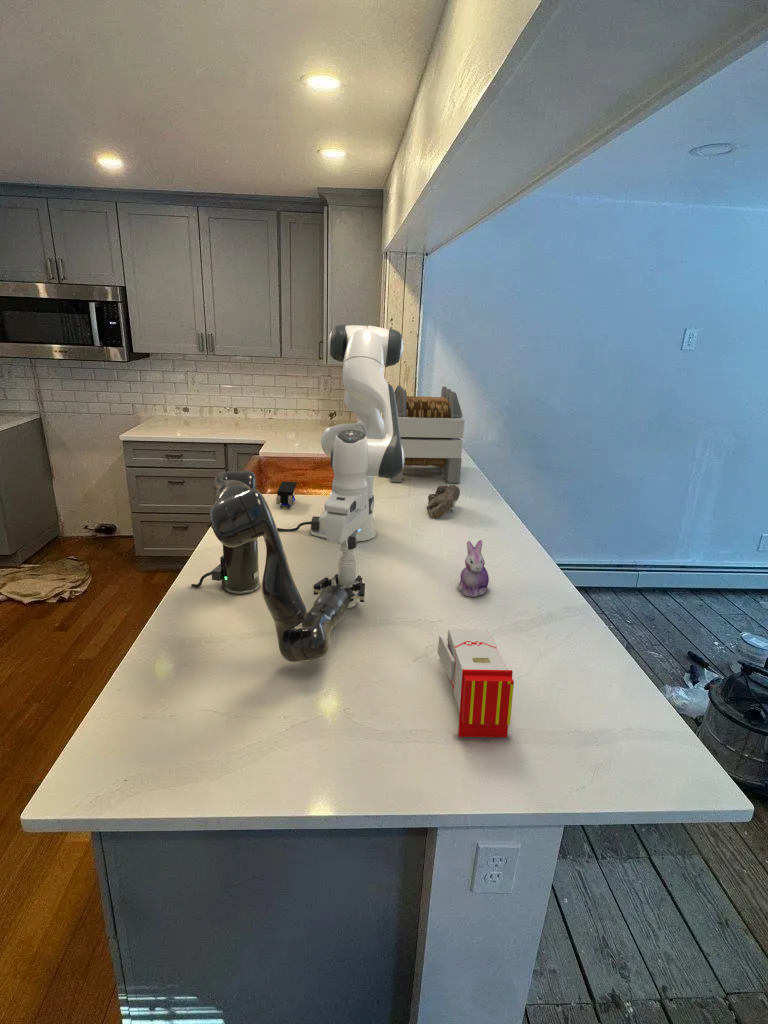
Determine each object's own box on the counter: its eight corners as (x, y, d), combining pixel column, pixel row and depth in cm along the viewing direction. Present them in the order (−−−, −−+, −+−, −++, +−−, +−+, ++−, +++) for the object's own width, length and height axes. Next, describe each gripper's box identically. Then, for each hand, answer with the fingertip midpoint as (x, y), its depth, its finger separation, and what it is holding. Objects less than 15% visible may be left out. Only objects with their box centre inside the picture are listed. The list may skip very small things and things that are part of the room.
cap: (338, 548, 145) (338, 540, 144) (344, 542, 148) (344, 535, 148) (352, 550, 144) (352, 543, 143) (358, 545, 147) (358, 537, 146)
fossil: (423, 490, 234) (453, 471, 229) (436, 508, 237) (466, 489, 232) (421, 514, 215) (454, 493, 210) (435, 532, 217) (468, 512, 212)
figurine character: (293, 513, 218) (297, 497, 231) (292, 495, 215) (297, 480, 228) (275, 513, 218) (281, 496, 231) (274, 495, 214) (280, 479, 228)
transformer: (382, 463, 289) (386, 382, 275) (445, 464, 293) (451, 384, 279) (390, 482, 257) (394, 392, 243) (460, 483, 261) (468, 394, 247)
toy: (488, 613, 130) (523, 677, 101) (484, 667, 133) (517, 744, 104) (435, 612, 130) (455, 676, 101) (432, 666, 133) (451, 743, 103)
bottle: (353, 598, 154) (355, 538, 148) (356, 607, 150) (358, 546, 144) (336, 599, 153) (337, 539, 147) (339, 608, 149) (340, 546, 143)
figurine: (470, 601, 155) (475, 551, 150) (449, 585, 164) (454, 537, 159) (497, 594, 160) (504, 545, 154) (476, 579, 168) (481, 532, 163)
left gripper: (358, 597, 133) (376, 568, 149) (301, 588, 136) (324, 560, 152) (357, 625, 136) (375, 593, 152) (301, 616, 139) (324, 585, 155)
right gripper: (353, 483, 151) (352, 531, 156) (321, 506, 133) (320, 560, 138) (375, 486, 150) (373, 535, 154) (346, 510, 131) (344, 564, 136)
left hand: (349, 577), depth 152 cm, fingers closed on bottle, 4 cm apart
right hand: (348, 547), depth 146 cm, fingers closed on cap, 4 cm apart
